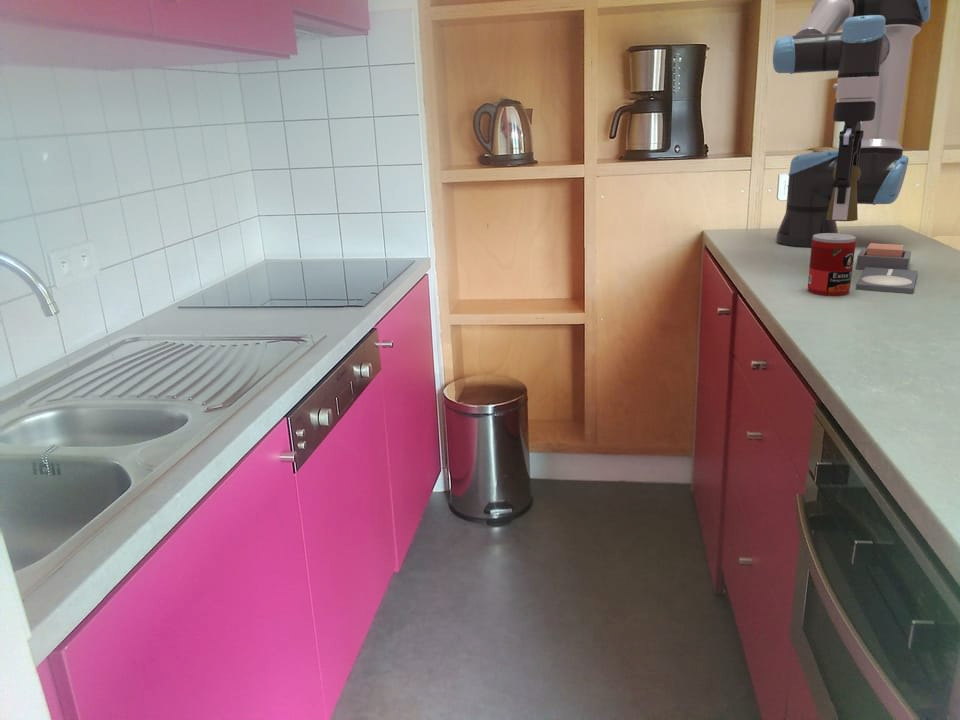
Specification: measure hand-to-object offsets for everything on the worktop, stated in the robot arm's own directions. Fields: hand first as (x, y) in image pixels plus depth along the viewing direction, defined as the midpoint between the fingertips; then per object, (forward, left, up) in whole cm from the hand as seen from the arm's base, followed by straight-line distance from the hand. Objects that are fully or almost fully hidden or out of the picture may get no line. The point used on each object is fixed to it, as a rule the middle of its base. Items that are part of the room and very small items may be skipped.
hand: (842, 217), depth 159 cm
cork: (0, 0, -1) cm, 1 cm away
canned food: (+14, 0, -13) cm, 19 cm away
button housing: (-15, +8, -13) cm, 21 cm away
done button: (-15, +8, -11) cm, 20 cm away
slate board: (+1, +10, -13) cm, 16 cm away
